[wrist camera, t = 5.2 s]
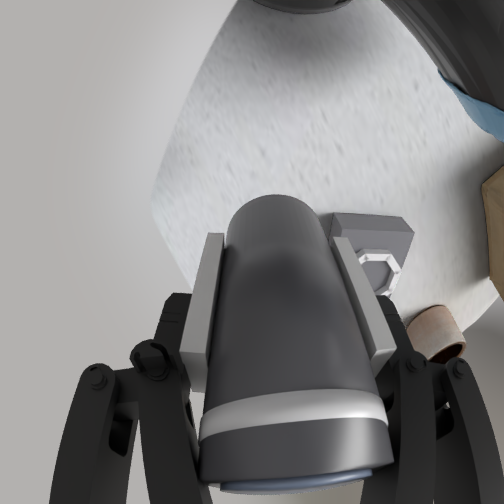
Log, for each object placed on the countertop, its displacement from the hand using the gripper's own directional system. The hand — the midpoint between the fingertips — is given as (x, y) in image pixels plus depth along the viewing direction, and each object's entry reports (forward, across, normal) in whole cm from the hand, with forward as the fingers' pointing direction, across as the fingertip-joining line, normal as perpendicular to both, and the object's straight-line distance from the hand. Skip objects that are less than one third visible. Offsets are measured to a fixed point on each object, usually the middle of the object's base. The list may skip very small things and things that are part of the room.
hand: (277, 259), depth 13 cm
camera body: (+19, +14, -13) cm, 27 cm away
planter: (+19, +35, -29) cm, 50 cm away
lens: (+2, 0, 0) cm, 2 cm away
